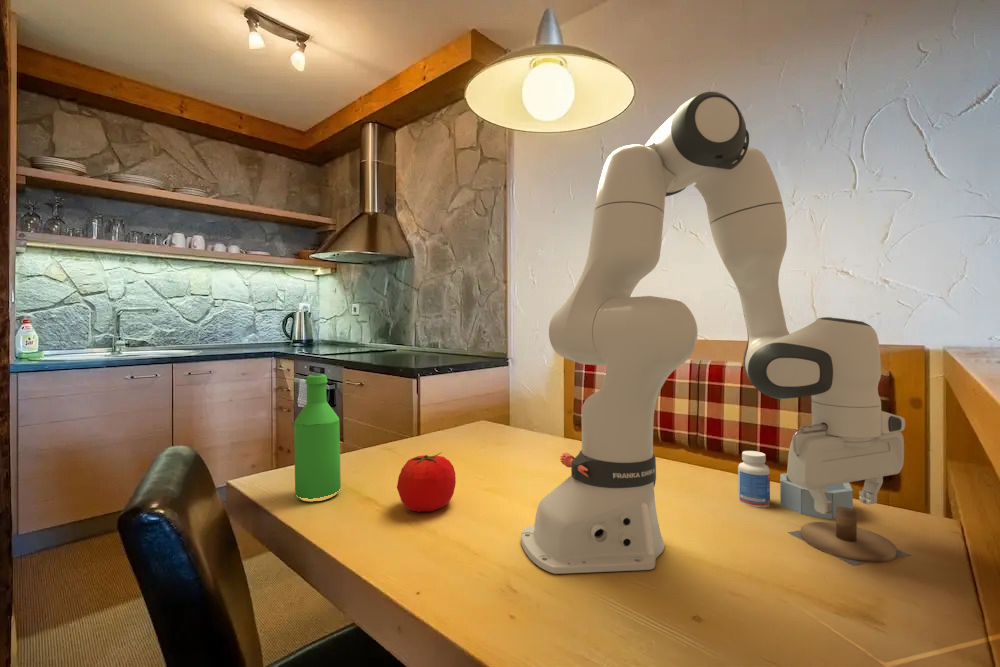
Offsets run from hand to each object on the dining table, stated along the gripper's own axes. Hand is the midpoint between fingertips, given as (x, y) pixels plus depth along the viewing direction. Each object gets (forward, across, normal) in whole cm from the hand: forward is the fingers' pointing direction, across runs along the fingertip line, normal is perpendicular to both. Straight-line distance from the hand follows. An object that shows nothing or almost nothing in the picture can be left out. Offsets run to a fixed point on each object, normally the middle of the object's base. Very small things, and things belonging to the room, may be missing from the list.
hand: (846, 507), depth 74 cm
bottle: (+4, -82, +48) cm, 95 cm away
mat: (+6, -1, -1) cm, 6 cm away
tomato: (+4, -62, +35) cm, 71 cm away
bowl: (+6, +8, +12) cm, 15 cm away
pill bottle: (+6, -1, +17) cm, 18 cm away
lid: (+5, -1, -1) cm, 5 cm away
